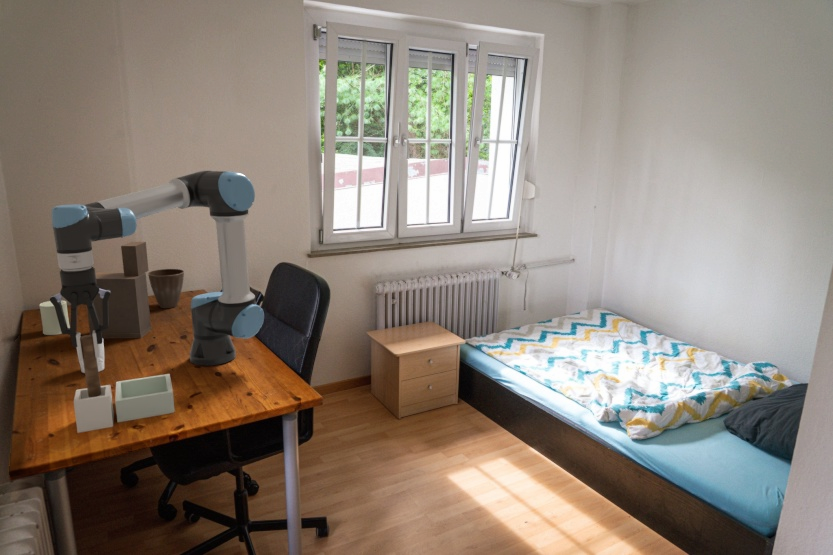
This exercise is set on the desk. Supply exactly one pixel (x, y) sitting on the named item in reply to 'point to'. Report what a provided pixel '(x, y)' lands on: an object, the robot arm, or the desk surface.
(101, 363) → the white cup
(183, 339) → the desk surface
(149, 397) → the bin
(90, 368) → the dowel
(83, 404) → the pen pot
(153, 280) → the plant pot
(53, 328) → the can
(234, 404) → the desk surface
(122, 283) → the two-tier brown block
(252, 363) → the desk surface
